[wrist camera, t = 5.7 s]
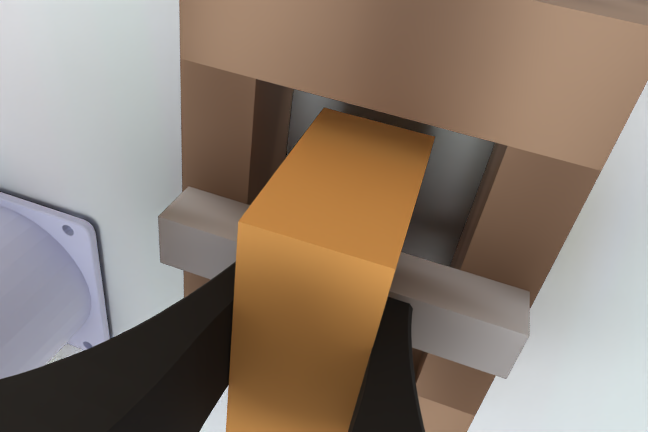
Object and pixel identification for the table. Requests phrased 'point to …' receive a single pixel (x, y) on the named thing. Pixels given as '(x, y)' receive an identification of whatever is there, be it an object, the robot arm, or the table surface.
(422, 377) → the shelf
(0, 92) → the table surface
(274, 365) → the orange upright block
